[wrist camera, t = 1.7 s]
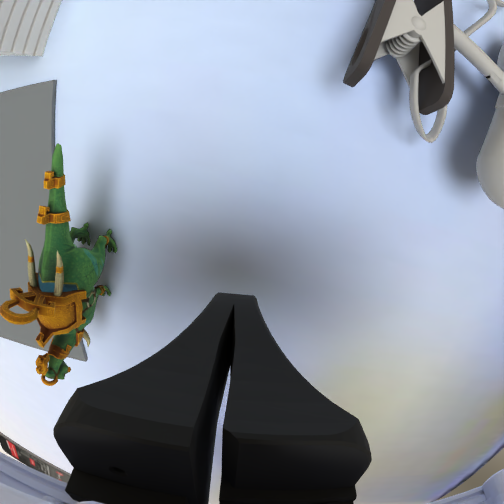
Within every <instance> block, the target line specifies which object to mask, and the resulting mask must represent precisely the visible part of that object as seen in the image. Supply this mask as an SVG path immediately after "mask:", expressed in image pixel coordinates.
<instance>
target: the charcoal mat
mask: <svg viewBox="0 0 504 504" xmlns="http://www.w3.org/2000/svg"><path fill="white" fill-rule="evenodd" d="M55 95H56V80H51V81H46V82H41V83H37V84H32V85H28V86H24V87H20V88H16V89H12V90H8V91H4V92H1V93H0V306H1V305H2V304H3V303H4V302H5V301H8V300H12V299H11V298H10V289H12V288H19V287H20V288H21V289H22V290H23V293H25V292H28V282H29V276H28V249H27V245H26V241H25V239H26V240H27V242H28V243H29V244H30V245H31V247H32V250H33V253H34V260H35V269H36V273H38V267H39V259H40V256H41V253H42V250H43V247H44V242H45V228H46V224H45V225H43V224H39V223H37V216H38V212H39V206H46V207H48V200H49V190H50V189H45V188H44V179H45V172H46V171H51V167H52V156H53V153H54V150H55V138H54V129H55ZM9 310H10V311H12V312H14V313H18V314H26V313H29V312H28V311H26V310H24V309H22V308H21V307H19V306H18V305H16V306H14V307H12V308H10V309H9ZM40 328H41V327H40V325H39V323H38V321H37V319H36V320H34V321H33V322H31V323H28V324H24V325H17V324H12V323H9V322H8V321H7V320H5V319H4V318H3V317H2V316H1V314H0V337H3V338H6V339H9V340H12V341H15V342H18V343H21V344H24V345H27V346H30V347H34V348H37V349H40V350H44V351H47V352H48V350H49V346H50V344H51V341H52V338H54V335H53V336H52V337H51V339H50V340H49V341H48V342H47V344H46V345H45V346H44V348H42V347H40V346H39V345H38V343H37V341H36V337H37V336H38V334H39V333H40ZM67 357H69V358H73V359H77V360H81V361H85V362H86V361H87V356H86V352H85V349H84V345H83V341H82V339H81V341H80V343H79V345H78V346H77V347H75V346H74V347H73V349H72V350H71V351H70V353H69V355H68V356H67Z"/></svg>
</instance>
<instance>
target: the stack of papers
mask: <svg viewBox="0 0 504 504" xmlns="http://www.w3.org/2000/svg"><path fill="white" fill-rule="evenodd" d="M61 2H62V0H0V56H43V53H44V50H45V46H46V43H47V40H48V37H49V34H50V31H51V28H52V25H53V23H54V20H55V17H56V15H57V12H58V9H59V7H60V4H61Z"/></svg>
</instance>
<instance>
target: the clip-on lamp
mask: <svg viewBox="0 0 504 504" xmlns="http://www.w3.org/2000/svg"><path fill="white" fill-rule="evenodd" d="M487 2H488V4H489V9H488V12H487V13H486V14H485V15H484V16H483V17H482V18H481V19H479V20H478V21H477V22H475V23H474V24H473V25H471V26H470V27H469V28H468V29H466V30H465V31H464V32H462V31H461V30H460V29H459V28H458V27H457V26H455V25H454V24H453V11H452V0H414V1H413V0H376V2H375V4H374V7H373V9H372V12H371V14H370V16H369V19H368V21H367V24H366V26H365V28H364V31H363V33H362V36H361V38H360V40H359V43H358V45H357V47H356V50H355V52H354V55H353V57H352V59H351V62H350V64H349V66H348V69H347V71H346V73H345V76H344V80H343V83H345V84H347V85H349V86H351V87H354V86H355V85H356V84H357V83H358V82H359V81H360V80H361V79H362V78H363V77H364V76H365V75H366V74H367V72H368V71H369V69H370V67H371V65H372V63H373V61H374V60H376V59H378V58H381V57H383V56H385V55H388V54H390V55H391V56H392V57H393V58H396V60H397V62H398V64H399V66H400V68H401V70H402V73H403V75H404V77H405V79H406V81H407V83H408V86H409V88H410V92H409V102H410V111H411V116H412V120H413V123H414V126H415V128H416V130H417V132H418V133H419V135H420V136H421V137H422V138H423V139H424V140H426V141H427V142H429V143H432V142H434V141H435V140H436V138H437V137H438V135H439V133H440V132H441V129H442V127H443V124H444V122H445V118H446V113H447V104H448V103H449V101H450V99H451V98H452V94H453V90H454V52H455V50H458V51H459V52H460V53H461V54H462V55H463V56H464V57H465V58H466V59H467V60H468V61H469V62H471V63H472V64H473V65H474V66H475V67H476V68H477V69H478V70H479V71H480V72H481V73H482V74H483V75H484V76H485V77H486V78H487V79H488V80H489V81H490V83H491V84H492V85H493V86H494V87H495V88H496V89H497V90H498V91H499V92H500V93H499V96H498V99H497V102H496V105H495V108H496V110H495V113H494V116H493V119H492V121H491V124H490V127H489V130H488V132H487V135H486V138H485V140H484V143H483V145H482V148H481V150H480V153H479V155H478V157H477V163H476V171H477V176H478V180H479V182H480V185H481V187H482V189H483V191H484V192H485V194H486V195H487V196H488V198H489V199H490V200H491V201H492V202H494V203H495V204H496V205H498V206H499V207H501V208H503V209H504V43H503V45H502V47H501V49H500V52H499V55H498V59H497V65H496V64H495V63H494V62H493V61H492V60H491V58H490V57H489V56H488V55H487V54H486V53H485V52H484V51H483V50H482V49H481V48H479V47H478V46H477V45H476V44H475V43H474V42H473V41H472V40H471V39H470V38H469V36H470V35H471V34H472V33H473V32H475V31H476V30H477V29H479V28H480V27H481V26H482V25H484V24H485V23H486V22H487V21H489V20H490V19H491V18H492V17H493V16H494V15H495V13H496V10H497V6H501V7H504V2H502V1H500V0H487ZM437 110H438V111H437ZM435 111H437V116H436V120H435V123H434V125H433V127H432V129H431V131H430V132H429V133H428V134H427V135H426V134H425V132H424V130H423V127H422V123H421V120H420V114H419V113H421V114H423V115H428V114H430V113H432V112H435Z"/></svg>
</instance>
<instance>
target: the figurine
mask: <svg viewBox="0 0 504 504" xmlns="http://www.w3.org/2000/svg"><path fill="white" fill-rule="evenodd" d="M64 185H65V175H64V173H63V155H62V148H61V145H60V144H56V147H55V150H54V153H53V156H52V167H51V171H46V172H45V179H44V188H45V189H50V190H49V200H48V207H46V206H39V212H38V216H37V223H39V224H43V225H45V224H46V228H45V242H44V247H43V250H42V253H41V256H40V259H39V267H38V273H36V269H35V260H34V253H33V250H32V247H31V245H30V244H29V243H28V242H27V240H26V239H25V241H26V245H27V249H28V276H29V282H28V292H25V293H23V290H22V289H21V288H20V287H19V288H12V289H10V298H11V299H12V300H8V301H5V302H4V303H3V304H2V305H1V306H0V314H1V316H2V317H3V318H4V319H5V320H7V321H8V322H9V323H12V324H17V325H24V324H28V323H31V322H33V321H34V320H36V319H37V321H38V323H39V325H40V327H41V328H40V333H39V334H38V336H37V337H36V341H37V343H38V345H39V346H40V347H42V348H44V346H45V345H46V344H47V342H48V341H49V340H50V339H51V337H52V336H53V335H54V338H52V341H51V344H50V346H49V350H48V353H46V354H45V355H43V356H42V355H39V356H38V358H37V360H36V365H37V368H36V371H37V373H38V374H42V376H41V379H42V382H43V383H44V384H45V385H48V386H52V385H54V384H56V383H57V382H58V379H64V377H65V374H66V373H68V372H70V371H71V368H70V367H68V366H67V365H66V363H65V362H64V361H63V360H64V359H65V358H66V357H67V356H68V355H69V353H70V351H71V350H72V349H73V347H74V346H75V347H77V346H78V345H79V343H80V341H81V339H82V337H83V338H84V339H85V340H86V341H87V345H88V346H89V344H90V338H89V335H88V333H87V332H86V331H85V330H84V327H85V326H87V325H88V324H89V323H90V322H91V320H92V318H93V316H94V311H95V307H96V301H97V298H98V295H102V296H104V295H105V291H106V292H107V294H108V295H109V296H110V295H111V292H110V291H109V290H108V288H107V287H106V286H103V285H99V286H97V287H95V288H94V285H95V283H96V282H97V280H98V279H99V277H100V275H101V272H102V270H103V266H104V262H105V248H106V247H107V245H108V252H109V253H110V252H111V251H112V248H113V252H114V253H116V252H117V247H116V244H115V241H114V240H112V238H111V237H110V235H111V233H112V231H111V230H110V229H109V230H108V231H107V234H106V236H101V235H99V237H98V240H97V242H96V244H95V246H94V248H93V249H92V250H88V249H86V248H78V247H77V246H76V245H75V244H73V243H74V240H75V238H78V239H77V240H78V241H79V242H80V241H82V244H85V243H86V240H87V243H88V245H89V246H90V238H89V233H88V231H87V228H88V225H89V224H88V222H87V223H85V224H84V227H82V228H80V229H77V228H74V227H72V228H71V231H70V230H69V223H68V221H71V220H70V215H69V211H68V210H67V208H66V202H65V192H64ZM16 305H18V306H19V307H21V308H22V309H24V310H26V311H28V312H29V313H26V314H18V313H14V312H12V311H10V310H9V309H10V308H12V307H14V306H16ZM48 362H49V366H48ZM47 367H48V368H47ZM45 376H46V377H48V378H50V379H54V380H53V381H47V380H45Z"/></svg>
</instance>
